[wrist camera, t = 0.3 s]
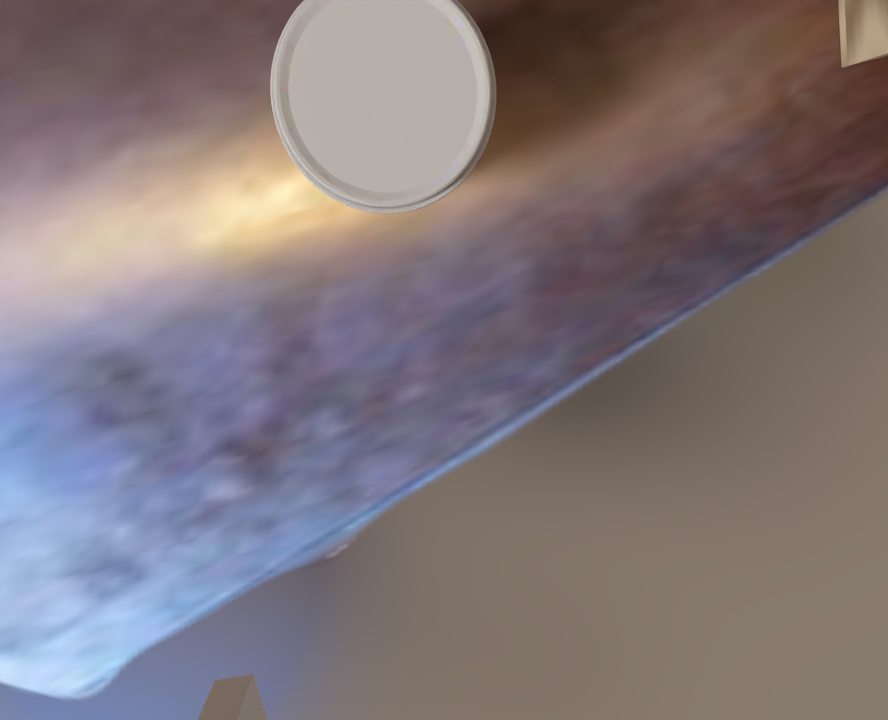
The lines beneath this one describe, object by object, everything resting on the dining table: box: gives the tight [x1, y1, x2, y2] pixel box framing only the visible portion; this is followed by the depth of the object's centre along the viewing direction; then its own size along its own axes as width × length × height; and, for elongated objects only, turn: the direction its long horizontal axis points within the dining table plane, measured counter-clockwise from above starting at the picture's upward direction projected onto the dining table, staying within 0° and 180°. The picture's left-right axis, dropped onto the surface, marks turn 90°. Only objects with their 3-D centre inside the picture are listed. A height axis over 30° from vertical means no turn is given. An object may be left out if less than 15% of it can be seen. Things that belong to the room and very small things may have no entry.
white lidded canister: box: [270, 0, 497, 214], centre depth 28 cm, size 9×9×12 cm
